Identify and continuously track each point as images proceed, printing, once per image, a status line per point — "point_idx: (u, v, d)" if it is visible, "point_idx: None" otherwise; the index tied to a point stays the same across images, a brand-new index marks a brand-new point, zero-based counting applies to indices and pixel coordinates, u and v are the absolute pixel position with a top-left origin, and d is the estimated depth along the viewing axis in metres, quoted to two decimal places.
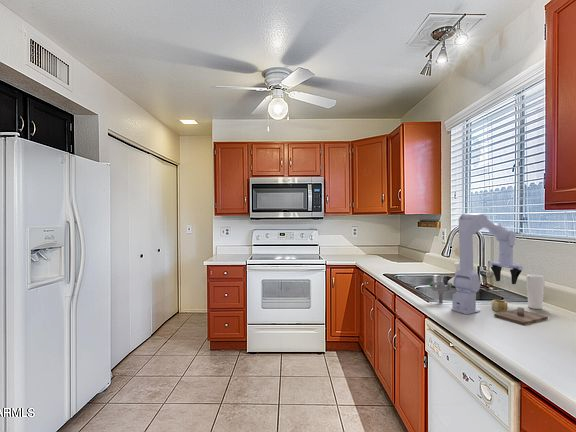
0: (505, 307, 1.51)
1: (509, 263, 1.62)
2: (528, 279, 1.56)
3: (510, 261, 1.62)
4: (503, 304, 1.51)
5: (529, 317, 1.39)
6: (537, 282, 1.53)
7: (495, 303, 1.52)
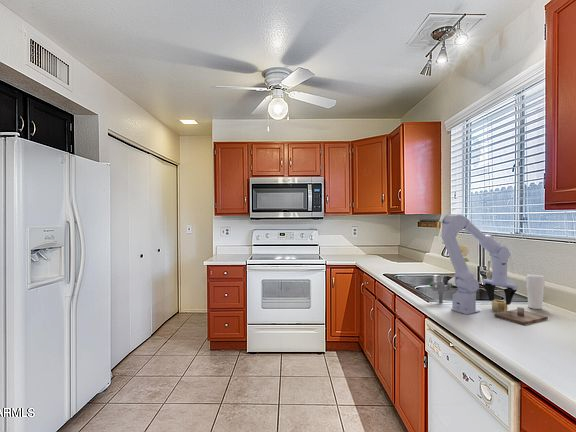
0: (505, 307, 1.51)
1: (503, 282, 1.51)
2: (528, 279, 1.56)
3: (504, 280, 1.51)
4: (503, 304, 1.51)
5: (529, 317, 1.39)
6: (537, 282, 1.53)
7: (495, 303, 1.52)
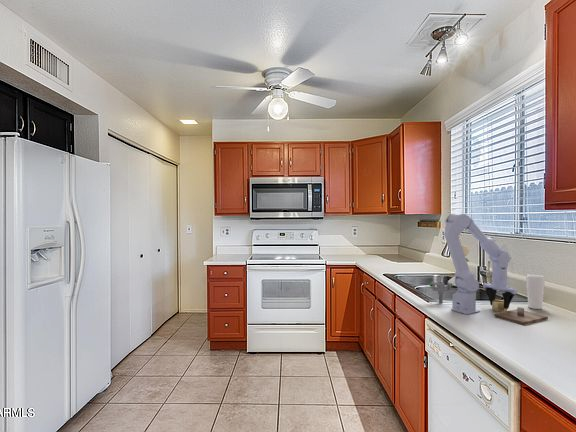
0: None
1: (503, 286, 1.51)
2: (528, 279, 1.56)
3: (504, 284, 1.51)
4: (503, 304, 1.51)
5: (529, 317, 1.39)
6: (537, 282, 1.53)
7: (495, 303, 1.52)
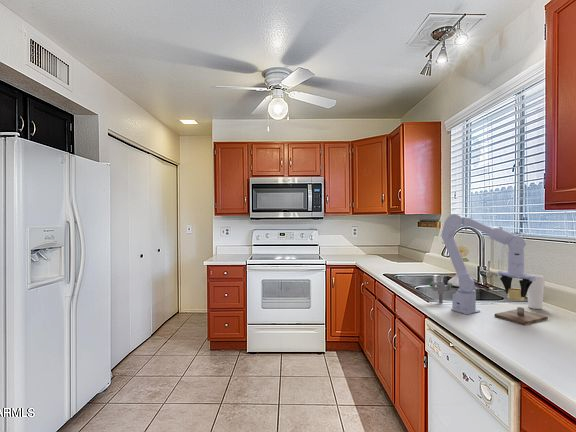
0: None
1: (520, 273, 1.42)
2: None
3: (521, 271, 1.42)
4: (520, 292, 1.42)
5: (529, 317, 1.39)
6: (537, 282, 1.53)
7: (511, 291, 1.44)
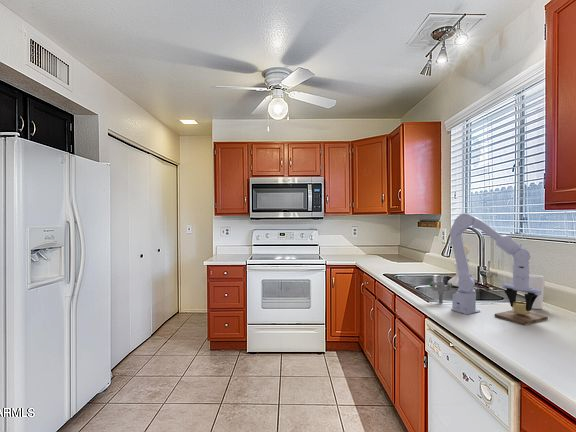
0: None
1: (525, 287, 1.39)
2: None
3: (526, 284, 1.39)
4: (525, 306, 1.39)
5: (529, 317, 1.39)
6: (537, 282, 1.53)
7: (516, 305, 1.41)
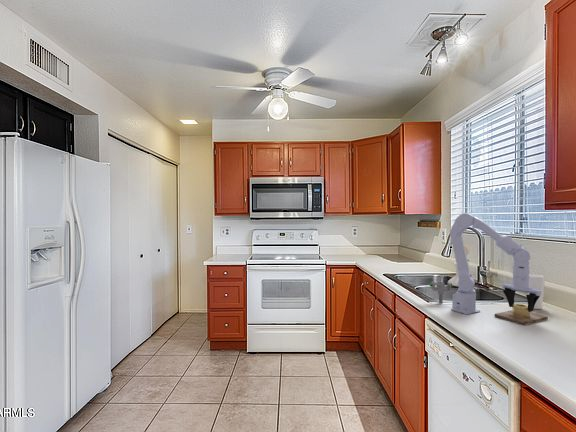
0: (527, 312, 1.40)
1: (525, 287, 1.39)
2: None
3: (526, 285, 1.39)
4: (525, 309, 1.39)
5: (529, 317, 1.39)
6: (537, 282, 1.53)
7: (516, 307, 1.41)
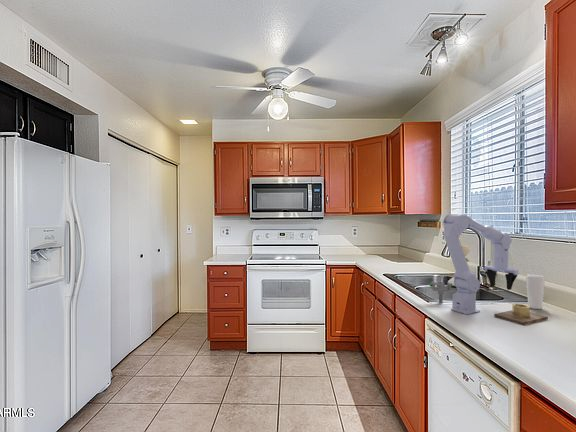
0: (527, 312, 1.40)
1: (504, 267, 1.54)
2: (528, 279, 1.56)
3: (505, 265, 1.54)
4: (525, 309, 1.39)
5: (529, 317, 1.39)
6: (537, 282, 1.53)
7: (516, 307, 1.41)
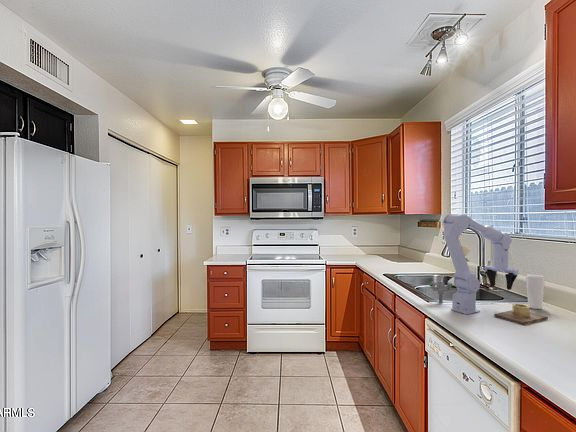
0: (527, 312, 1.40)
1: (504, 267, 1.54)
2: (528, 279, 1.56)
3: (505, 265, 1.54)
4: (525, 309, 1.39)
5: (529, 317, 1.39)
6: (537, 282, 1.53)
7: (516, 307, 1.41)
